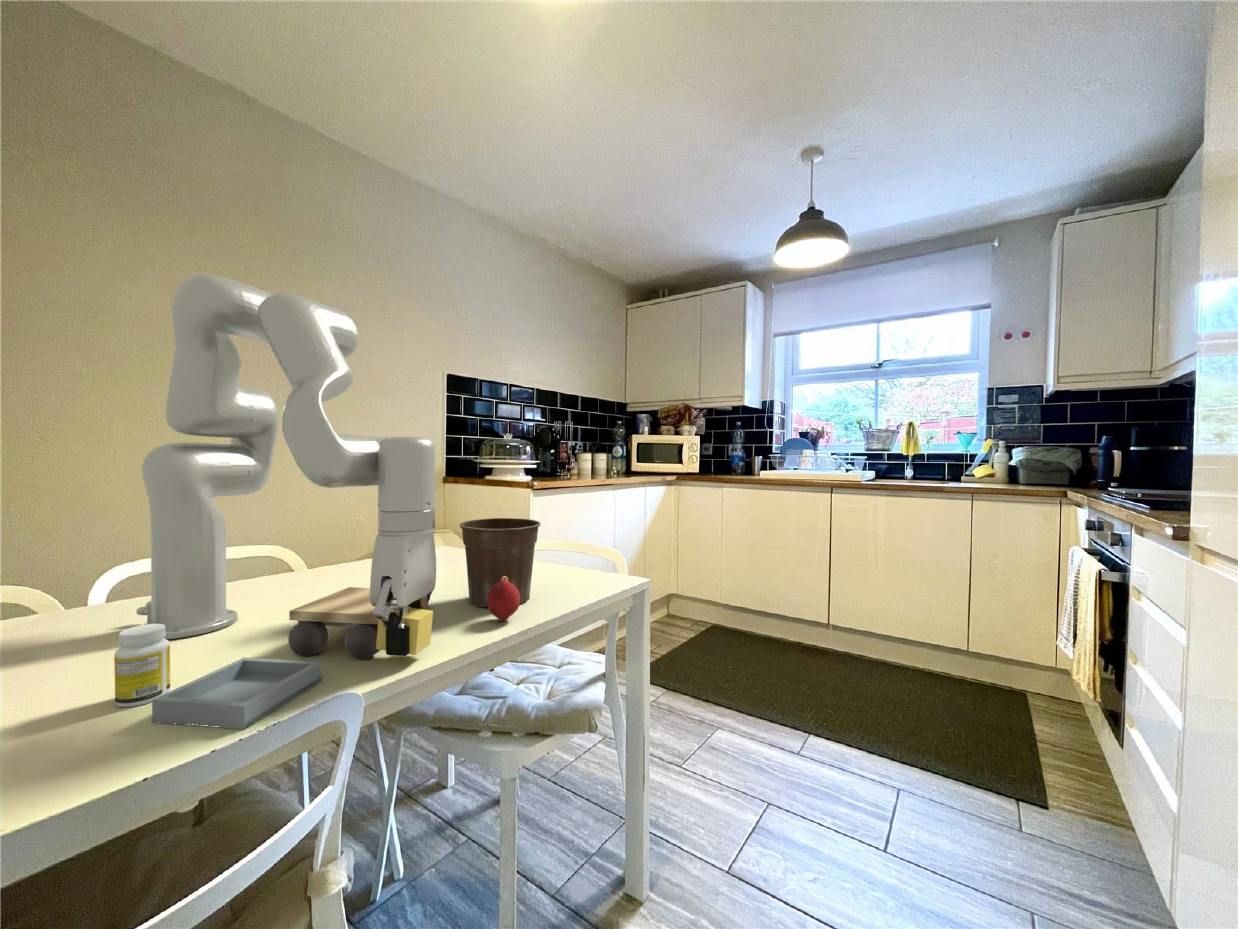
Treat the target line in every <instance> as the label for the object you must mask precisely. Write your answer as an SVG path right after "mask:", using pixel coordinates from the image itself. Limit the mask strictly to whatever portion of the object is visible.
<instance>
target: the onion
mask: <svg viewBox="0 0 1238 929" xmlns="http://www.w3.org/2000/svg"><path fill="white" fill-rule="evenodd" d="M520 605H521V604H520V593H519V591H518V589H517V588H516V587H515V586H514V585H513V584H512V583H510V582H508V577H507V576H503V577H502V578H501V580H500V582H499V583H497V584H496V585H495V586H494V587H493V588H492V589H491V591H490V592H489V595H488V597H487V606H486V607H487V610H488V611H489V612H490V613H491V615H492V616H493V617H494V618H497V619H498V620H500V621H502V622H504V621H507V620H508V619H509V618H510V617H512V616H513V615H514V614H515V613H516V612H517V611H518V609H519V607H520Z"/></svg>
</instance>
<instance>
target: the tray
mask: <svg viewBox="0 0 1238 929" xmlns="http://www.w3.org/2000/svg"><path fill="white" fill-rule="evenodd" d="M321 682H322V661H312V660H311V661H310V660H309V661H307V660H293V659H291V660H290V659H274V658H255V657H242V658H240V659H237V660H236V661H234V662H231V663H229V664H227V665H225V666H222V667H220V668H218V669H216V670H214V671H212V672H209V673H208V674H205V675H203V676H201V677H199V678H196V679H195V680H192V681H190V682H187V683H186V684H184V685H181V686H179V687H177V688H175V689H172V690H170V691H169V692H168V693H166V694H164V695H162V696H160V697H157V698H155V699H153V700H152V702H151V706H152V707H151V718H152V719H151V720H152V722H156V723H157V722H160V723H159V724H165V723H172V724H171V725H178V724H191V725H190V726H192V724H194V725H196V724H197V725H206V726H207V725H208V726H219V727H224V728H223V729H234V730H246V729H248V728H249V727H251V726H252V725H254V724H256V723H258V722H259V721H261V720H262V719H264V718H265V717H266V716H269V715H270V714H272V713H273V712H275V711H276V710H278V709H280V708H281V707H282V706H284V705H285V704H288V703H289V702H291V701H293V699H295V698H297V697H298V696H301V695H302V694H304V693H305V692H307V691H308V690H309V689H311V688H313V687H315V686H316V685H318V684H319V683H321ZM152 722H151V723H152ZM174 723H176V724H174ZM157 724H158V723H157Z"/></svg>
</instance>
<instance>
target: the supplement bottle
mask: <svg viewBox="0 0 1238 929" xmlns="http://www.w3.org/2000/svg"><path fill="white" fill-rule="evenodd" d="M165 634H166V633H165V625H164V624H147V625H144V624H143V625H136V626H133V627H130V628H127V629H123V630H122V631H120V632H119V633H118V641H117V644H118V647H119V648H117V650H116V651H115V653H114V656H113V657H114V703H115V705H116V706H117V707H120V708H123V707H124V708H127V707H137V706H141V705H142V706H143V705H146V704H149V703H152V700H153V699H155V698H157V697H160V696H162V695H164V694H166V693H168V692H170V691H171V644H170V641H169V639H163V638H164V637H165Z"/></svg>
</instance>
